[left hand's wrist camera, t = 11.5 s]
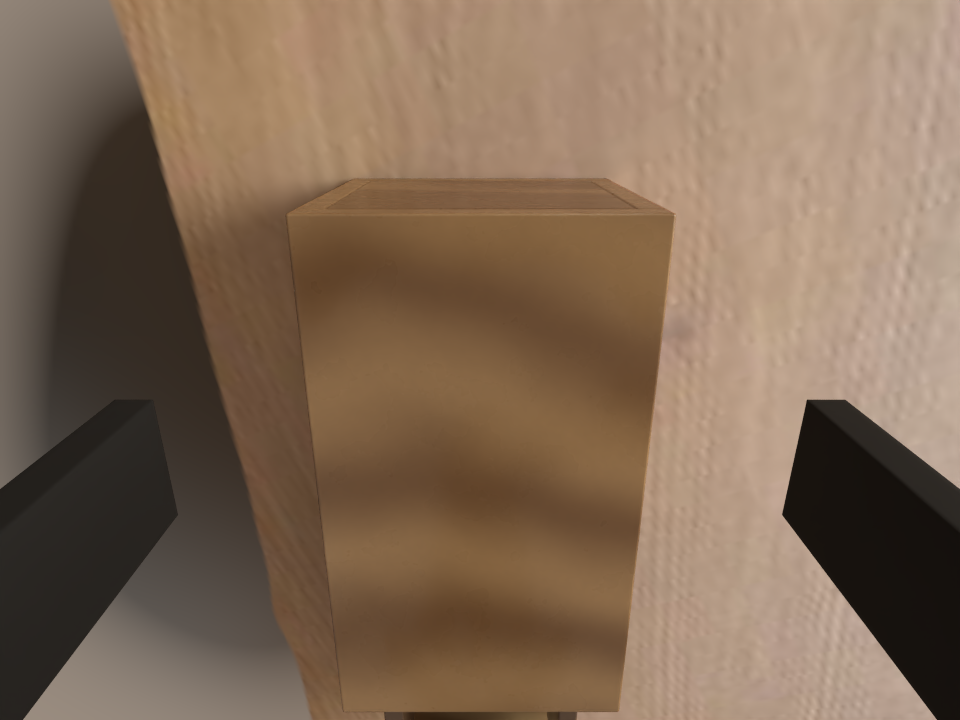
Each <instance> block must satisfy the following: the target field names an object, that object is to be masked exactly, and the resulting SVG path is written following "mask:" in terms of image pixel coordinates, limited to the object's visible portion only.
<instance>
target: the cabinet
mask: <svg viewBox="0 0 960 720" xmlns="http://www.w3.org/2000/svg"><path fill="white" fill-rule="evenodd" d="M675 222H676V214H675V213H673V212H671V211H669V210H667V209H665V208H663V207H661V206H659V205H657V204H655V203H653V202H651V201H649V200H647V199H645V198H643V197H642V196H640V195H638V194H636V193H634V192H632V191H630V190H628V189H626V188H624V187H622V186H620V185H618V184H616V183H614V182H612V181H611V180H609V179H353V180H351V181H349V182H347V183H345V184H343V185H341V186H339V187H337V188H335V189H333V190H331V191H329V192H328V193H326V194H324V195H322V196H320V197H318V198H316V199H314V200H312V201H310V202H308V203H306V204H304V205H302V206H300V207H298V208H296V209H295V210H293V211H291V212H289V213H287V214H286V224H287V233H288V241H289V250H290V259H291V267H292V276H293V285H294V293H295V302H296V311H297V319H298V328H299V337H300V345H301V354H302V362H303V371H304V380H305V388H306V397H307V406H308V414H309V423H310V432H311V440H312V449H313V458H314V466H315V475H316V484H317V492H318V501H319V510H320V518H321V527H322V536H323V544H324V553H325V561H326V570H327V579H328V587H329V596H330V605H331V613H332V622H333V631H334V639H335V648H336V657H337V665H338V674H339V683H340V691H341V700H342V709H343V712H618V711H619V705H620V697H621V688H622V680H623V671H624V662H625V654H626V645H627V636H628V628H629V619H630V610H631V602H632V593H633V584H634V576H635V567H636V559H637V550H638V541H639V533H640V524H641V515H642V507H643V498H644V489H645V481H646V472H647V464H648V455H649V446H650V438H651V429H652V420H653V412H654V403H655V394H656V386H657V377H658V369H659V360H660V351H661V343H662V334H663V325H664V317H665V308H666V299H667V291H668V282H669V273H670V265H671V256H672V248H673V239H674V230H675Z"/></svg>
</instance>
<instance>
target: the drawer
mask: <svg viewBox="0 0 960 720" xmlns="http://www.w3.org/2000/svg"><path fill="white" fill-rule="evenodd" d="M384 714H385V720H576V719H577V712H384Z"/></svg>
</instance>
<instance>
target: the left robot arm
mask: <svg viewBox="0 0 960 720" xmlns="http://www.w3.org/2000/svg"><path fill="white" fill-rule="evenodd" d="M177 515H178V513H177V509H176V504H175V499H174V495H173V490H172V486H171V481H170V476H169V472H168V467H167V462H166V458H165V453H164V449H163V444H162V440H161V435H160V430H159V426H158V421H157V416H156V412H155V407H154V403H153V400H114V401H113V402H111V403H110V404H109V405H108V406H106V407H105V408H104V409H102V410H101V411H100V412H99V413H97V414H96V415H95V416H93V417H92V418H91V419H90V420H88V421H87V422H86V423H84V424H83V425H82V426H81V427H79V428H78V429H77V430H76V431H74V432H73V433H72V434H70V435H69V436H68V437H66V438H65V439H64V440H63V441H61V442H60V443H59V444H58V445H56V446H55V447H54V448H52V449H51V450H50V451H49V452H47V453H46V454H45V455H43V456H42V457H41V458H40V459H38V460H37V461H36V462H34V463H33V464H32V465H31V466H29V467H28V468H27V469H26V470H24V471H23V472H22V473H20V474H19V475H18V476H16V477H15V478H14V479H13V480H11V481H10V482H9V483H7V484H6V485H5V486H4V487H2V488H1V489H0V720H23V719H24V718H25V716H26V715H27V714H28V712H29V711H30V710H31V708H32V707H33V706H34V704H35V703H36V702H37V700H38V699H39V698H40V696H41V695H42V694H43V692H44V691H45V690H46V689H47V687H48V686H49V684H50V683H51V682H52V681H53V679H54V678H55V677H56V675H57V674H58V673H59V671H60V670H61V669H62V667H63V666H64V665H65V663H66V662H67V661H68V659H69V658H70V657H71V655H72V654H73V653H74V651H75V650H76V649H77V648H78V646H79V645H80V644H81V642H82V641H83V640H84V638H85V637H86V636H87V634H88V633H89V632H90V630H91V629H92V628H93V626H94V625H95V624H96V622H97V621H98V620H99V618H100V617H101V616H102V614H103V613H104V612H105V610H106V609H107V608H108V606H109V605H110V604H111V603H112V601H113V600H114V598H115V597H116V596H117V595H118V593H119V592H120V591H121V589H122V588H123V587H124V585H125V584H126V583H127V581H128V580H129V579H130V577H131V576H132V575H133V573H134V572H135V571H136V569H137V568H138V567H139V565H140V564H141V563H142V562H143V560H144V559H145V558H146V556H147V555H148V554H149V552H150V551H151V550H152V548H153V547H154V546H155V544H156V543H157V542H158V540H159V539H160V538H161V536H162V535H163V534H164V532H165V531H166V530H167V528H168V527H169V526H170V524H171V523H172V522H173V520H174V519H175V518H176V517H177ZM782 515H783V517H784V518H785V519H786V521H787V522H788V523H789V524H790V526H791V527H792V528H793V530H794V531H795V532H796V534H797V535H798V536H799V538H800V539H801V540H802V542H803V543H804V544H805V546H806V547H807V548H808V550H809V551H810V552H811V554H812V555H813V556H814V558H815V559H816V560H817V562H818V563H819V564H820V565H821V567H822V568H823V569H824V571H825V572H826V573H827V575H828V576H829V577H830V579H831V580H832V581H833V583H834V584H835V585H836V587H837V588H838V589H839V591H840V592H841V593H842V595H843V596H844V597H845V599H846V600H847V601H848V603H849V604H850V605H851V607H852V608H853V609H854V610H855V612H856V613H857V614H858V616H859V617H860V618H861V620H862V621H863V622H864V624H865V625H866V626H867V628H868V629H869V630H870V632H871V633H872V634H873V636H874V637H875V638H876V640H877V641H878V642H879V644H880V645H881V646H882V648H883V649H884V650H885V651H886V653H887V654H888V655H889V657H890V658H891V659H892V661H893V662H894V663H895V665H896V666H897V667H898V669H899V670H900V671H901V673H902V674H903V675H904V677H905V678H906V679H907V681H908V682H909V683H910V685H911V686H912V687H913V689H914V690H915V691H916V692H917V694H918V695H919V696H920V698H921V699H922V700H923V702H924V703H925V704H926V706H927V707H928V708H929V710H930V711H931V712H932V714H933V715H934V716H935V718H936V719H937V720H960V489H959V488H958V487H956V486H955V485H954V484H953V483H951V482H950V481H949V480H947V479H946V478H945V477H944V476H942V475H941V474H940V473H938V472H937V471H936V470H935V469H933V468H932V467H931V466H929V465H928V464H927V463H926V462H924V461H923V460H922V459H920V458H919V457H918V456H917V455H915V454H914V453H913V452H911V451H910V450H909V449H908V448H906V447H905V446H904V445H902V444H901V443H900V442H899V441H897V440H896V439H895V438H894V437H892V436H891V435H890V434H888V433H887V432H886V431H885V430H883V429H882V428H881V427H879V426H878V425H877V424H876V423H874V422H873V421H872V420H870V419H869V418H868V417H867V416H865V415H864V414H863V413H861V412H860V411H859V410H858V409H856V408H855V407H854V406H852V405H851V404H850V403H849V402H847V401H846V400H807V403H806V407H805V412H804V416H803V421H802V426H801V430H800V435H799V439H798V444H797V449H796V453H795V458H794V462H793V467H792V472H791V476H790V481H789V486H788V490H787V495H786V499H785V504H784V509H783V513H782Z"/></svg>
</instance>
